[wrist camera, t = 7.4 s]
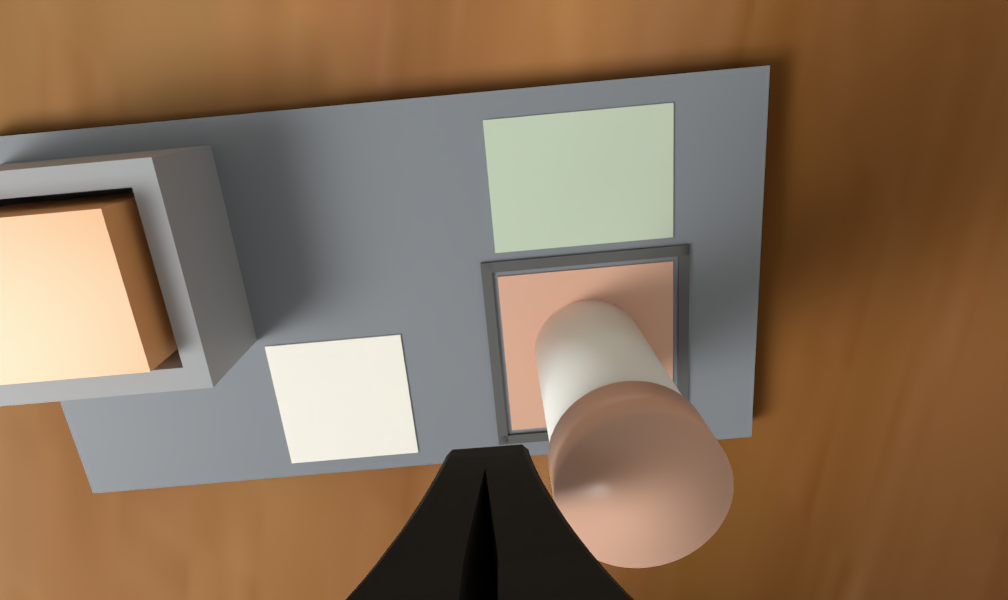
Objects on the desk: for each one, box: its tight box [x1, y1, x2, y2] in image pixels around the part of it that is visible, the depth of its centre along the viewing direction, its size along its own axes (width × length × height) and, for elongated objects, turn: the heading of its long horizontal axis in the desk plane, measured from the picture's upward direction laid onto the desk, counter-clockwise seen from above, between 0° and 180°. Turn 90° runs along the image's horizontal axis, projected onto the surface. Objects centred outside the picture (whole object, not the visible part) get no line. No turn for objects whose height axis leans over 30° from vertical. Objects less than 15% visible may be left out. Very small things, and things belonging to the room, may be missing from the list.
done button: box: [0, 193, 178, 385], centre depth 15 cm, size 4×4×2 cm
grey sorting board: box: [0, 65, 770, 493], centre depth 17 cm, size 11×21×4 cm, turn 95°
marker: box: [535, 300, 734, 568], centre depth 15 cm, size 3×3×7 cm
